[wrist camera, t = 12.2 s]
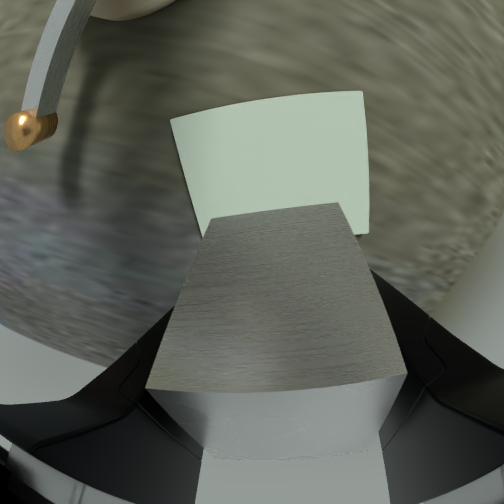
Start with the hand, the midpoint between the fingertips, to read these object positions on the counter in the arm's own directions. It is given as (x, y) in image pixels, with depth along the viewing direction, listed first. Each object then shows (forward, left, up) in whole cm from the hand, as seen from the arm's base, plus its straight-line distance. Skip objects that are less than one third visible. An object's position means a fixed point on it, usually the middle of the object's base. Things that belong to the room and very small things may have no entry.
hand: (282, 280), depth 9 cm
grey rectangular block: (0, 0, -1) cm, 1 cm away
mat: (0, 0, -11) cm, 11 cm away
